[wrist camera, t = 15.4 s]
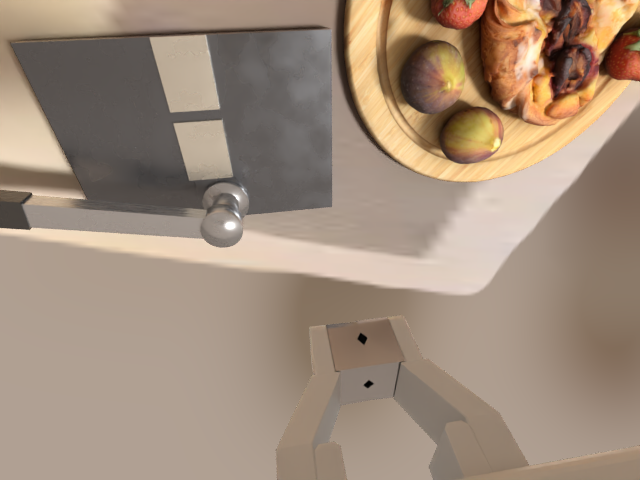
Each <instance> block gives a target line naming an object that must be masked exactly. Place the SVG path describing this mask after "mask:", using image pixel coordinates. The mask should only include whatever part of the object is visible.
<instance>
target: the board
mask: <svg viewBox="0 0 640 480" xmlns="http://www.w3.org/2000/svg"><path fill="white" fill-rule="evenodd" d="M10 44H11V46H12V48H13V50H14V52H15V54H16V56H17V58H18V60H19V62H20V64H21V66H22V68H23V70H24V72H25V74H26V76H27V78H28V80H29V82H30V84H31V86H32V88H33V90H34V92H35V94H36V96H37V98H38V100H39V102H40V104H41V106H42V108H43V110H44V112H45V114H46V116H47V118H48V120H49V122H50V124H51V126H52V128H53V130H54V132H55V134H56V137H57V139H58V141H59V143H60V145H61V147H62V149H63V151H64V153H65V155H66V157H67V159H68V161H69V163H70V165H71V167H72V169H73V171H74V173H75V175H76V177H77V179H78V181H79V183H80V185H81V187H82V189H83V191H84V193H85V195H86V197H87V199H88V200H95V201H107V202H119V203H131V204H143V205H155V206H167V207H179V208H191V209H203V210H207V209H208V208H209V207H211V206H213V205H216V204H228V205H231V206H233V207H235V208H236V209H237V210H239V212H240V213H241V214H242V217H244V216H245V215H251V214H261V213H272V212H282V211H292V210H303V209H313V208H324V207H332V64H331V29H330V28H314V29H290V30H266V31H243V32H219V33H195V34H171V35H147V36H123V37H100V38H76V39H52V40H28V41H18V42H13V43H10Z"/></svg>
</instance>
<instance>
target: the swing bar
mask: <svg viewBox="0 0 640 480" xmlns="http://www.w3.org/2000/svg"><path fill="white" fill-rule="evenodd" d="M32 227H33V228H48V229H63V230H79V231H94V232H109V233H125V234H140V235H155V236H170V237H186V238H201V239H204V240H205V241H206V242H208V243H209V244H211V245H213V246H216V247H230V246H233V245H235V244H236V243H237V242H238V241H239V240H240V239H241V237H242V234H243V217H242V214H241V213H240V212H239V210H237V209H236V208H235V207H233V206H231V205H228V204H216V205H213V206H211V207H209V208H208V209H207V210H203V209H191V208H179V207H167V206H155V205H143V204H131V203H119V202H107V201H95V200H83V199H72V198H60V197H48V196H36V195H32V193H30V192H18V191H7V190H0V228H10V229H26V230H30V229H31V228H32Z"/></svg>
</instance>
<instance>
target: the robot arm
mask: <svg viewBox="0 0 640 480" xmlns="http://www.w3.org/2000/svg"><path fill="white" fill-rule="evenodd" d="M309 332H310V348H311V358H312V368H313V374H314V375H312V376H311V378H310V380H309V382H308V384H307V386H306V389H305V390H304V392H303V394H302V397H301V399H300V401H299V403H298V405H297V407H296V409H295V411H294V413H293V415H292V418H291V419H290V422H289V424H288V426H287V428H286V430H285V432H284V434H283V436H282V439H281V441H280V442H279V445H278V447H277V449H276V462H277V480H347V478H346V472H345V467H344V461H343V456H342V451H341V446H340V445H338V444H337V443H336V442H329V439H330V436H331V433H332V430H333V427H334V425H335V422H336V419H337V416H338V412H339V410H340V405H346V404H350V403H356V402H362V401H368V400H375V399H383V398H391V397H394V399H395V400H396V402H398V404H399V405H400V406H401V407H402V408H403V409H404V410H405V411H406V412H407V413H408V414H409V415H410V416H411V417H412V419H413V420H414V421H415V422H416V423H417V424H418V425H419V426H420V427H421V428H422V429H423V430H424V431H425V432H426V433H427V434H428V435H429V437H430V438H431V439H432V440H433V441H434V442H435V443H436V444H437V448H436V450H435V453H434V455H433V458H432V460H431V462H430V465H429V469H430V472H431V475H432V478H433V480H640V445H639V446H633V447H628V448H623V449H617V450H612V451H606V452H601V453H595V454H590V455H585V456H579V457H574V458H569V459H563V460H557V461H552V462H547V463H542V464H536V465H530V466H529V464H528V462H527V460H526V459H525V457H524V455H523V454H522V452H521V450H520V448H519V446H518V445H517V443H516V441H515V439H514V438H513V436H512V434H511V432H510V431H509V429H508V427H507V425H506V424H505V422H504V420H503V418H502V417H501V415H500V413H499V412H498V411H496V410H495V409H494V408H492V407H491V406H490V405H488V404H487V403H486V402H484V401H483V400H482V399H480V398H479V397H478V396H476V395H475V394H474V393H473V392H471V391H470V390H469V389H467V388H466V387H465V386H463V385H462V384H461V383H459V382H458V381H457V380H456V379H454V378H453V377H452V376H450V375H449V374H448V373H446V372H445V371H444V370H442V369H441V368H440V367H439V366H437V365H436V364H435V363H433V362H432V361H431V360H429V359H423V357H422V355H421V353H420V351H419V348H418V346H417V344H416V342H415V339H414V337H413V335H412V333H411V330H410V328H409V326H408V324H407V322H406V319H405V317H404V316H402V315H399V316H391V317H381V318H375V319H368V320H361V321H356V322H350V323H341V324H332V325H326V326H325V325H323V326H314V327H310V328H309ZM328 442H329V443H328Z"/></svg>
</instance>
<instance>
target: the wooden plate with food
mask: <svg viewBox="0 0 640 480" xmlns="http://www.w3.org/2000/svg"><path fill="white" fill-rule="evenodd" d="M343 45H344V59H345V66H346V73H347V78H348V83H349V87H350V91H351V95H352V98H353V102H354V104H355V107H356V109H357V112H358V114H359V116H360V118H361V120H362V121H363V123H364V125H365V127H366V128H367V130H368V132H369V133H370V134H371V136H372V137H373V138H374V140H375V141H376V142H377V143H378V145H379V146H380V147H381V148H382V149H383V150H384V151H385V152H386V153H387V154H388V155H389V156H390V157H392V158H393V159H394V160H396V161H397V162H399V163H400V164H402V165H403V166H405V167H406V168H408V169H410V170H412V171H414V172H416V173H418V174H421V175H423V176H427V177H430V178H434V179H438V180H443V181H450V182H478V181H484V180H490V179H494V178H498V177H502V176H506V175H509V174H511V173H514V172H517V171H520V170H523V169H525V168H527V167H529V166H531V165H533V164H536V163H538V162H540V161H541V160H543V159H545V158H547V157H548V156H550V155H552V154H553V153H555V152H557V151H558V150H560V149H561V148H563V147H564V146H566V145H567V144H568V143H570V142H571V141H572V140H574V139H575V138H576V137H577V136H579V135H580V134H581V133H582V132H584V131H585V130H586V129H587V128H588V127H589V126H590V125H591V124H593V123H594V122H595V121H596V120H597V119H598V118H599V117H600V116H601V115H602V114H603V113H604V112H605V111H606V110H607V109H608V108H609V107H610V106H611V104H612V103H613V102H614V101H615V100H616V99H617V98H618V97H619V95H620V94H621V93H622V92H623V90H624V89H625V88H626V87H627V85H628V84H629V83H630V82H631V80H634V81H640V0H346V6H345V15H344V37H343Z"/></svg>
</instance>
